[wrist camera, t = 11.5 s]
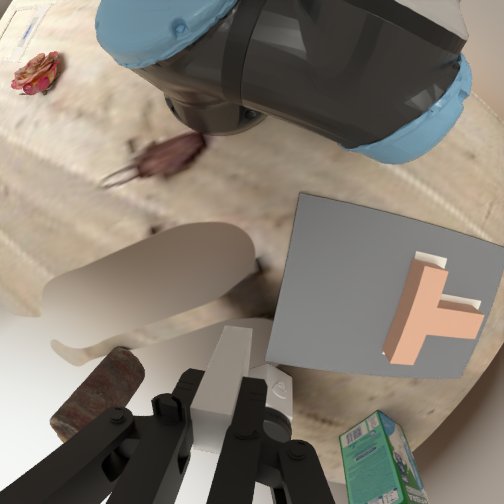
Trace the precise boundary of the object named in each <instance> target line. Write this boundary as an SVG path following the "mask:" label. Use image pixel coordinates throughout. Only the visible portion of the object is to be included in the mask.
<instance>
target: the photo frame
mask: <svg viewBox="0 0 504 504" xmlns="http://www.w3.org/2000/svg"><path fill="white" fill-rule="evenodd" d="M52 5H53V4H52V3H51V4H43V5H35V6H29V7H23V8H17V9H15V11H14V13H13V14H12V16H11V18H10V19H9V21H8V23H7V25H6V26H5V28H4V30H3V32H2V34H1V36H0V39H1V37H2V35H3V33H4V31H5V29H6V28H7V26H8V24H9V22H10V21H11V19H12V17H13V15H14V14H15V12H16V11H22V10H28V9H35V8H37V10H36V11H35V13H34V14H33V16H32V18H31V19H30V21H29V23H28V25H27V26H26V28H25V30H24V32H23V33H22V35H21V37H20V39H19V41H18V43H17V45H16V47H15V49H14V51H13V53H12V55H11V57H10V59H7V58H0V61H7V62H17V63H20V62H21V60H22V57H23V55H24V53H25V51H26V49H27V47H28V46H29V44H30V42H31V40H32V38H33V36H34V34H35V33H36V31H37V29H38V27H39V26H40V24H41V22H42V21H43V19H44V17H45V16H46V14H47V13H48V11H49V9H50V8H51V6H52Z"/></svg>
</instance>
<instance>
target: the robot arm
mask: <svg viewBox="0 0 504 504" xmlns="http://www.w3.org/2000/svg"><path fill="white" fill-rule="evenodd" d="M460 1H461V0H101V2H100V5H99V7H98V10H97V14H96V18H95V29H96V33H97V34H96V37H97V40H98V42H99V44H100V45H101V47H102V48H103V49H104V50H105V51H106V52H108V53H109V54H110V55H111V56H112V57H113V58H114V60H115V61H116V62H117V63H118V64H119V65H122V66H124V67H126V68H129V69H131V70H132V71H134V72H135V73H137V74H138V75H140V76H141V77H143V78H144V79H145V80H147V81H148V82H150V83H151V84H153V85H154V86H156V87H157V88H159V89H160V90H161V91H163V92H164V96H165V99H166V102H167V105H168V107H169V109H170V110H171V112H172V113H173V114H174V116H175V117H176V118H177V119H178V120H179V121H180V122H182V123H183V124H184V125H186V126H188V127H189V128H191V129H193V130H195V131H197V132H199V133H202V134H206V135H212V136H228V135H234V134H238V133H241V132H244V131H246V130H248V129H250V128H252V127H254V126H256V125H257V124H259V123H260V122H261V121H262V120H264V119H265V118H266V117H267V116H268V115H270V116H273V117H275V118H278V119H281V120H284V121H286V122H289V123H291V124H294V125H297V126H299V127H302V128H304V129H307V130H309V131H311V132H314V133H316V134H319V135H321V136H323V137H326V138H328V139H330V140H332V141H335V142H337V144H338V145H339V146H340V147H341V148H343V149H345V150H347V151H352V152H358V153H361V154H363V155H365V156H367V157H370V158H372V159H374V160H376V161H379V162H381V163H384V164H393V165H395V164H404V163H407V162H410V161H413V160H415V159H417V158H419V157H421V156H422V155H424V154H425V153H427V152H428V151H429V150H431V149H432V148H433V147H434V146H435V145H437V144H438V143H439V142H440V141H441V140H442V139H443V138H444V137H445V136H446V134H447V133H448V132H449V131H450V130H451V128H452V127H453V126H454V124H455V123H456V121H457V120H458V118H459V116H460V115H461V113H462V111H463V109H464V107H463V104H462V102H463V101H464V99H466V98H467V97H468V96H469V94H470V91H471V86H472V74H471V68H470V65H469V63H468V62H467V60H466V59H465V57H464V55H463V54H462V53H461V50H462V48H463V47H464V45H465V43H466V41H467V40H468V37H469V34H468V31H467V28H466V26H465V23H464V20H463V17H462V15H461V12H460V5H459V3H460ZM251 340H252V329H250V328H242V327H234V326H227V325H225V327H224V329H223V331H222V334H221V336H220V339H219V341H218V343H217V346H216V348H215V350H214V353H213V355H212V357H211V360H210V362H209V364H208V367H207V369H206V371H202V370H197V369H191V368H190V369H188V370H187V371H185V372H184V373H183V374H182V375H181V377H180V379H179V382H178V383H177V385H176V387H175V388H174V390H173V392H172V394H169V393H165V394H160V395H158V396H156V397H154V398H153V400H151V402H152V407H153V413H154V415H152V416H133V414H132V412H131V411H130V410H129V409H127V408H125V407H122V406H114V407H110V408H108V409H106V410H105V411H103V412H102V413H101V414H100V415H98V416H97V417H96V418H95V419H94V420H92V421H91V422H90V423H89V424H87V425H86V426H85V427H84V428H82V429H81V430H80V431H79V432H77V433H76V434H75V435H74V436H72V437H71V438H70V439H69V440H67V441H66V442H65V443H64V444H62V445H61V446H60V447H59V448H57V449H56V450H55V451H53V452H52V453H51V454H50V455H48V456H47V457H46V458H45V459H43V460H42V461H40V462H39V463H38V464H37V465H35V466H34V467H33V468H31V469H30V470H29V471H27V472H26V473H25V474H24V475H22V476H21V477H19V478H18V479H17V480H16V481H14V482H13V483H12V484H10V485H9V486H7V487H6V488H5V489H3V490H2V491H0V504H100V503H101V502H102V501H103V500H104V499H105V498H106V497H107V496H108V495H109V494H110V493H111V492H112V493H111V495H110V497H109V499H108V500H107V502H106V504H174V503H175V500H176V497H177V495H178V492H179V489H180V486H181V483H182V481H183V478H184V475H185V472H186V469H187V466H188V464H189V461H190V456H191V455H190V450H191V447H192V445H193V447H194V449H196V450H201V451H206V452H211V453H216V454H220V456H219V460H218V463H217V467H216V471H215V474H214V478H213V481H212V485H211V488H210V492H209V496H208V499H207V503H206V504H252V500H253V494H254V488H255V481H256V482H259V483H261V484H264V485H267V486H269V487H270V489H271V494H272V499H273V504H335V501H334V499H333V496H332V494H331V491H330V488H329V486H328V483H327V480H326V478H325V475H324V472H323V470H322V467H321V464H320V462H319V459H318V456H317V454H316V451H315V449H314V448H313V446H312V445H311V444H309V443H308V442H306V441H303V440H290V441H287V442H285V443H282V442H279V441H276V440H274V439H272V438H271V437H269V436H268V435H267V434H266V433H265V431H264V428H263V422H264V414H265V406H266V398H267V390H268V386H267V384H266V382H265V380H264V379H260V378H252V377H247V375H248V370H249V362H250V351H251Z"/></svg>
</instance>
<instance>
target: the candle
mask: <svg viewBox="0 0 504 504" xmlns="http://www.w3.org/2000/svg"><path fill="white" fill-rule="evenodd" d="M144 377H145V370H144V367H143V366H142V364H141V363H140V361H139V359H138V358H137V357H136V356H134V355H133V354H132V353H131V352H130V351H129V350H126V349H123V348H120V347H116V348H114V349H113V350H112V351H111V352H110V353H109V354H108V355H107V356H106V357H105V358H104V359H103V361H102V362H101V363H100V364H99V365H98V366H97V367H96V368H95V369H94V371H93V372H92V373H91V374H90V375H89V376H88V378H87V379H86V380H85V381H84V382H83V383H82V384H81V385H80V386H79V387H78V388H77V389H76V390H75V392H74V393H73V394H72V395H71V397H70V398H69V399H68V400H67V401H66V402H65V403H64V404H63V405H62V406H61V407H60V408H59V410H58V411H57V412H56V413H55V414H54V415H53V416H52V418H51V419H50V425H51V426H52V428H53V429H54V430H55V432H56V433H57V435H58V437H59V438H60V439H61V441H63V443H65V442H66V441H67V440H69V439H70V438H71V437H72V436H74V435H75V434H76V433H77V432H79V431H80V430H81V429H82V428H84V427H85V426H86V425H87V424H89V423H90V422H91V421H92V420H94V419H95V418H96V417H97V416H98V415H100V414H101V413H102V412H103V411H105V410H106V409H108V408H110V407H114V406H122V407H125V406H126V405H127V404H128V402H129V401H130V399H131V398H132V396H133V395H134V393H135V392H136V391H137V389H138V388H139V386H140V384H141V383H142V381H143V380H144Z"/></svg>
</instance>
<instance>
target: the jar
mask: <svg viewBox="0 0 504 504" xmlns="http://www.w3.org/2000/svg"><path fill="white" fill-rule="evenodd" d="M247 377H252V378H260V379H264V380H265V382H266V384H267V386H268V390H267V398H266V406H265V414H264V422H263V428H264V431H265V433H266V434H267V435H268V436H269V437H271V438H272V439H274V440H276V441H279V442H282V443H285V442H287V441H290V440H291V435H292V429H291V422H292V419H293V399H292V377H291V376H289V375H287V374H286V373H284V372H282V371H281V370H279V369H277V368H276V367H274V366H273V365H271V364H269V363H267V364H264V365H261V366H258V367H254V368H251V369H249V370H248V375H247Z"/></svg>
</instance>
